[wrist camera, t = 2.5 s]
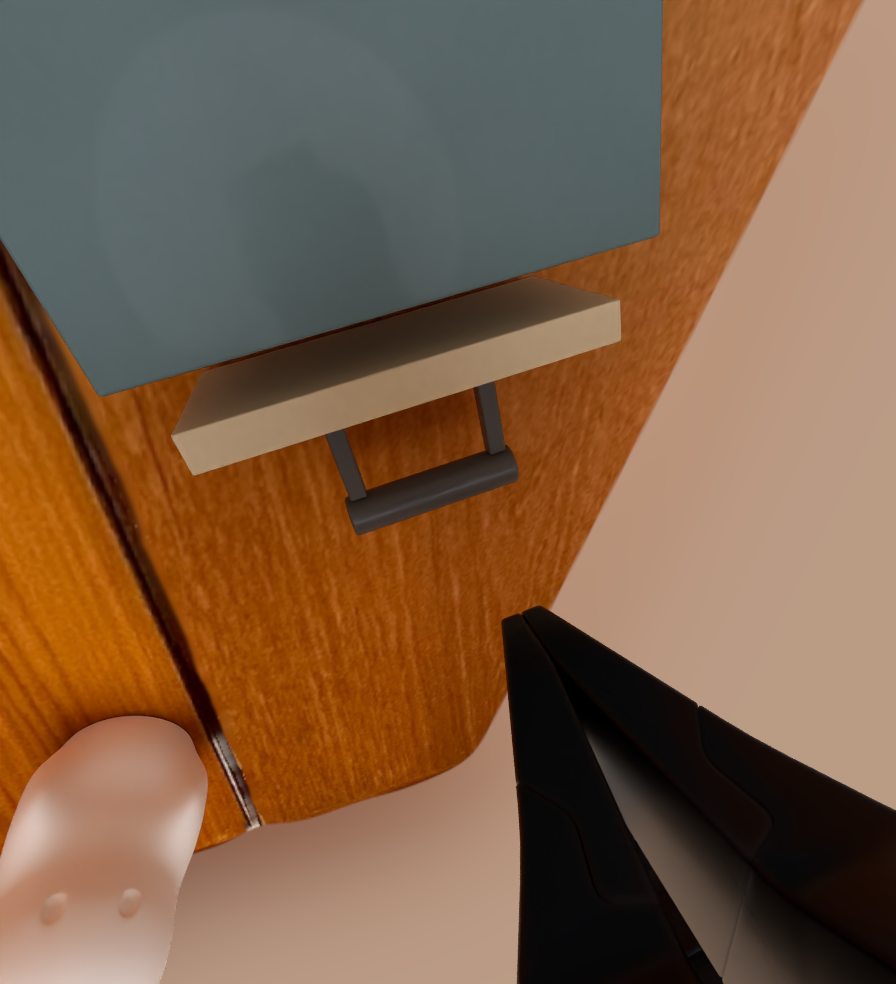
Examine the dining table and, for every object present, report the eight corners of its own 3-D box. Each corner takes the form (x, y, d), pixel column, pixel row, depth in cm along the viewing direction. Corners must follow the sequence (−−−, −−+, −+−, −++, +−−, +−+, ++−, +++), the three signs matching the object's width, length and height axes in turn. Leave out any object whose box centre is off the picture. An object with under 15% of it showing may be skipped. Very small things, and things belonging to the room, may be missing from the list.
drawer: (549, 417, 22) (625, 476, 17) (269, 510, 20) (265, 604, 16) (457, -398, 11) (590, -857, 6) (-149, -336, 10) (-584, -885, 5)
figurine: (227, 703, 26) (192, 1020, 16) (188, 798, 28) (136, 1124, 18) (61, 689, 23) (-114, 1072, 13) (34, 797, 25) (-130, 1188, 15)
